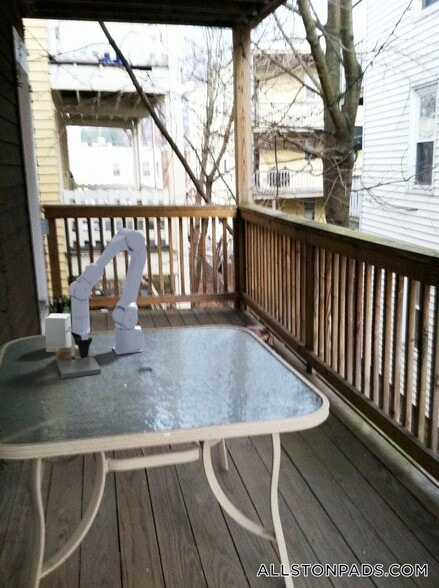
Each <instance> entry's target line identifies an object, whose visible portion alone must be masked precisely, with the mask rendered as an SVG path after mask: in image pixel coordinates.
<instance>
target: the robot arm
mask: <svg viewBox="0 0 439 588" xmlns="http://www.w3.org/2000/svg"><path fill="white" fill-rule="evenodd" d="M145 242H146V237H145V236H144V235H143V233H142V232H141V231H139V230H137V229H130V228H127V227H122V228H120V229H119V230H118V231H117V233H115V234H114V235H113V236H112V238H111V241H110V242H109V243H108V245H107V246H106V247H105V249H104V250H103V252H102V253H101V255H100V256H99V257H98V259H97V260H96V261H95V262H91V263H89V264H86V265H85V266H84V271H83V272H82V273H81V274H80V275H79V276H77V277H76V278H75V279H76V280H75V281H73V282H71V283H70V284H69V288H68V289H67V291H68V294H69V295H70V298H71V322H72V323H71V329H69V332H71V337H72V338H73V341H74V343H75V344H74V345H78V348H79V353H80V357H81V358H87V356H88V351H89V347H90V346H91V343H92V341H93V337H89V333H90V332H91V327H90V306H89V305H90V303H89V297H91V295H92V289H93V288H94V287H95V285H96V284H97V283H98V282H99V281H100V280H101V278H102V276H103V275H104V274H105V273H104V269H105V268H106V267H107V265H108V264H109V263H110V262H111V261H112V260H113V259H114V258H115V256H117V254H119V253H120V252H125V251H127V253H128V255H130V260H129V264H128V269H127V271H126V272H127V273H126V277H125V280H124V285H123V290H122V293H121V298H120V299H119V300H118V301H117V303H116V305H115V308H114V309H113V310H112V313H111V318H112V320H113V322H114V340H115V341H114V342H115V343H114V344H115V346H112V349H113V352H115V353H116V355H122V354H123V355H124V354H133V353H140V352H143V331H142V328H141V326H140V325H137V324H138V321H139V317H138V310H139V308H138V305H137V299H138V294H139V292H140V291H139V290H140V285H141V282H142V279H143V278H142V277H143V274H144V270H145V265H146V262H147V258H148V252H147V247H146V243H145Z"/></svg>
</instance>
